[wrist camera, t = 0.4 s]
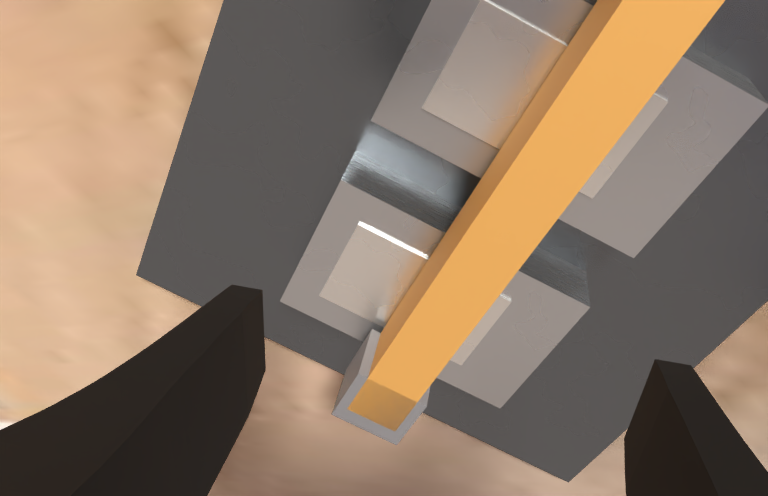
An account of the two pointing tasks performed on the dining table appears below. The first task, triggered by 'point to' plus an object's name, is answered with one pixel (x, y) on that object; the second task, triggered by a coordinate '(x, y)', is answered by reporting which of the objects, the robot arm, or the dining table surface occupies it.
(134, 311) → the dining table surface
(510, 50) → the block
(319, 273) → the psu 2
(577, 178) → the orange wooden bar
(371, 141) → the dark grey panel board
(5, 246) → the dining table surface
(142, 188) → the dining table surface
